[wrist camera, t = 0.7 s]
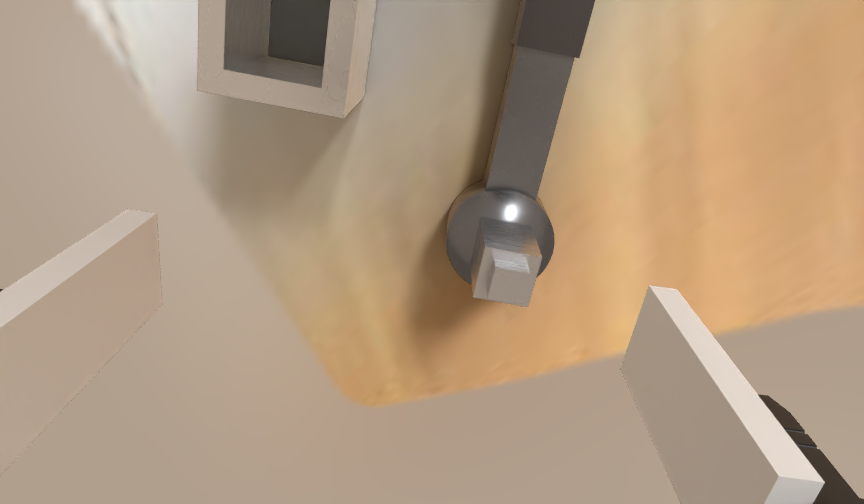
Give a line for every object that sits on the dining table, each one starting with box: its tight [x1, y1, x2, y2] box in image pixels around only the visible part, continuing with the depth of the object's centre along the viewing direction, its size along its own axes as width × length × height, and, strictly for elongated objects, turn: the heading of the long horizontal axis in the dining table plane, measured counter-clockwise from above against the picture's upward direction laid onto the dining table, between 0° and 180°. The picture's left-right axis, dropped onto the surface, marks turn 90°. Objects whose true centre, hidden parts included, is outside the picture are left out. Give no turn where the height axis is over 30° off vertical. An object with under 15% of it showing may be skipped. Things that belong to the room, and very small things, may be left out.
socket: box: [197, 0, 377, 118], centre depth 29 cm, size 7×7×7 cm
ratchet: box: [447, 0, 595, 307], centre depth 30 cm, size 20×6×8 cm, turn 170°
